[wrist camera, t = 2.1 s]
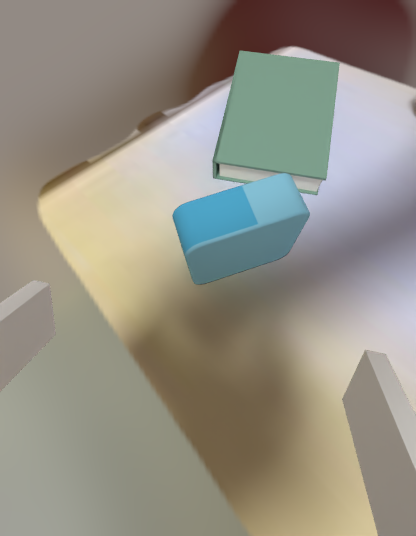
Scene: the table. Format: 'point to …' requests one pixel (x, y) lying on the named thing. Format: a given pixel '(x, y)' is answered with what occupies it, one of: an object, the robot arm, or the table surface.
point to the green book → (277, 120)
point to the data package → (240, 227)
